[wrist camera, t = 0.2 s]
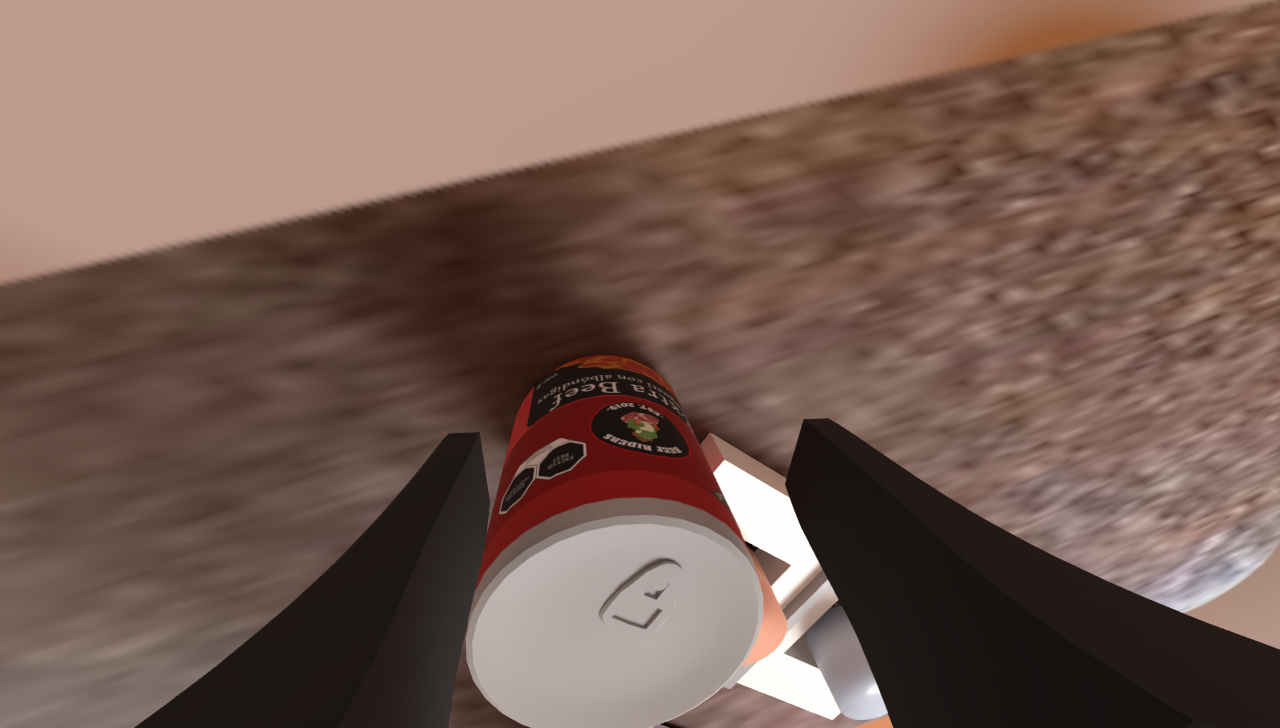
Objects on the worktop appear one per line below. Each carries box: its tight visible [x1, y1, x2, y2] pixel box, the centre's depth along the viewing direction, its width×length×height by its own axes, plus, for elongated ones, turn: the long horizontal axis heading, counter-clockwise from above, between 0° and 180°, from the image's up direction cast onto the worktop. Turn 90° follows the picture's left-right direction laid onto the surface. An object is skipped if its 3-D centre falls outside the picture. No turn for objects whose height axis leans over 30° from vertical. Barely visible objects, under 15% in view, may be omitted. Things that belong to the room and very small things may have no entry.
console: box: [700, 433, 841, 720], centre depth 26 cm, size 11×18×3 cm, turn 54°
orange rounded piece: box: [742, 548, 787, 666], centre depth 22 cm, size 4×4×4 cm
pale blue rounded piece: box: [806, 606, 888, 720], centre depth 25 cm, size 4×4×4 cm
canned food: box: [466, 355, 763, 728], centre depth 17 cm, size 8×8×11 cm
